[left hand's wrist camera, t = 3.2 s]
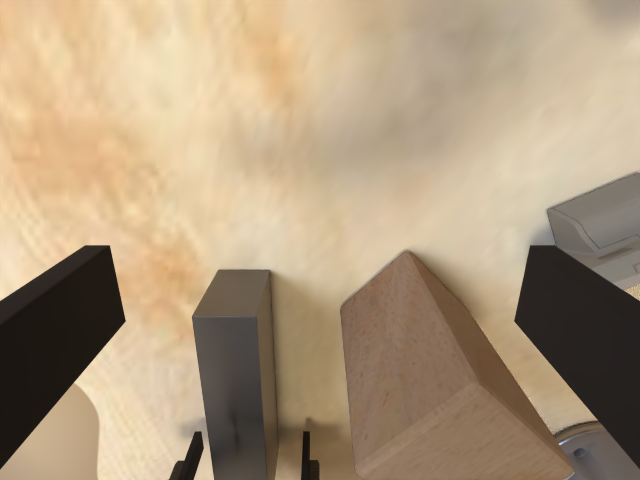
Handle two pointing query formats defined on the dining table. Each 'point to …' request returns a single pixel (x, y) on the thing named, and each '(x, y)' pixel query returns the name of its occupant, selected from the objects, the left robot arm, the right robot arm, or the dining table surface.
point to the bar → (238, 374)
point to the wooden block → (435, 389)
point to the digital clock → (603, 230)
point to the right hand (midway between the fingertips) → (253, 439)
